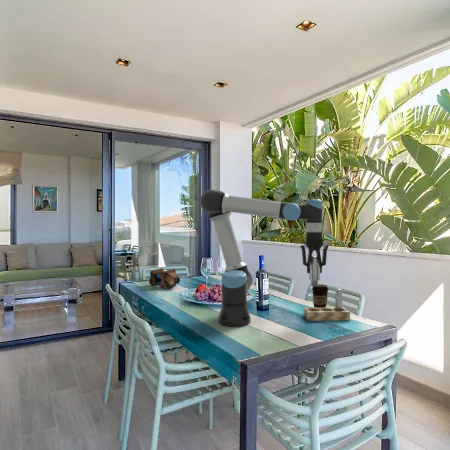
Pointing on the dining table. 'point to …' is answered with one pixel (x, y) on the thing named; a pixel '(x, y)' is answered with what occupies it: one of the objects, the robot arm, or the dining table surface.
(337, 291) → the peg right
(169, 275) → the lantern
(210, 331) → the dining table surface
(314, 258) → the peg
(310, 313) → the hole block
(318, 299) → the coffee cup
